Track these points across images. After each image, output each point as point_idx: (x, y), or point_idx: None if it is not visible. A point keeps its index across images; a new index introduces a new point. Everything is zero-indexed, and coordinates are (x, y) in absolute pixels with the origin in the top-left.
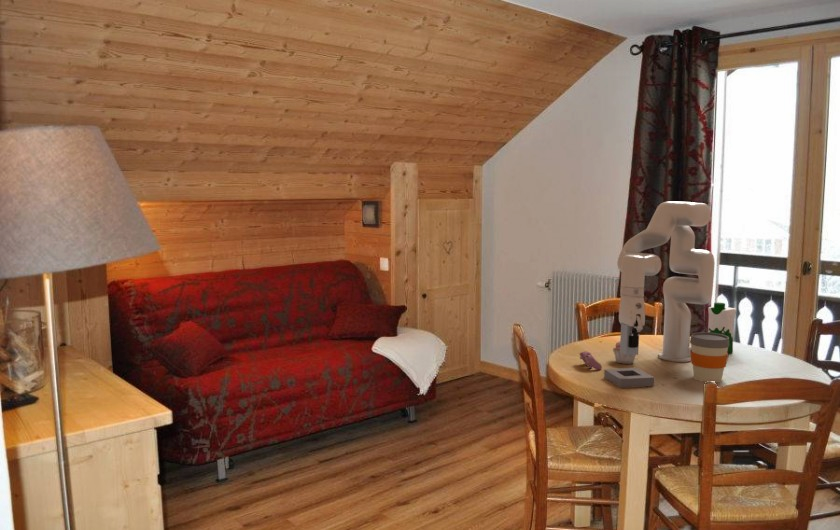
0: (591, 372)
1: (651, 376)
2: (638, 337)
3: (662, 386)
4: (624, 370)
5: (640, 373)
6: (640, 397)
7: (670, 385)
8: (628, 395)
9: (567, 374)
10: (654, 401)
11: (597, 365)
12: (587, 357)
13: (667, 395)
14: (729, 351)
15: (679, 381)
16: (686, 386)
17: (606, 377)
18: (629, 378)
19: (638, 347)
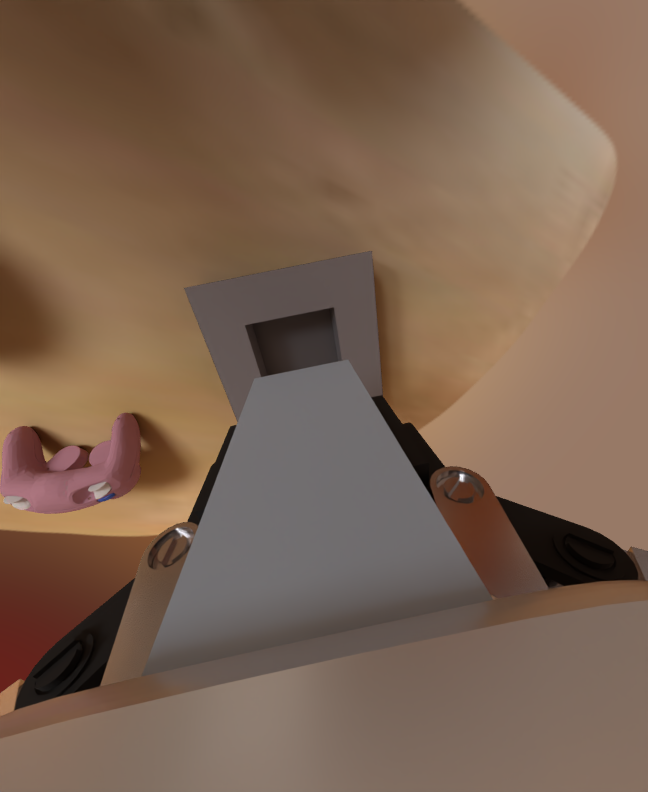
0: (182, 448)
1: (355, 260)
2: (389, 436)
3: (365, 206)
4: (252, 365)
5: (300, 302)
6: (479, 356)
7: (351, 145)
8: (451, 388)
9: None
10: (529, 322)
11: (133, 438)
12: (117, 494)
13: (487, 239)
14: None
15: (270, 19)
16: (376, 26)
17: None
18: (379, 376)
19: (359, 380)
